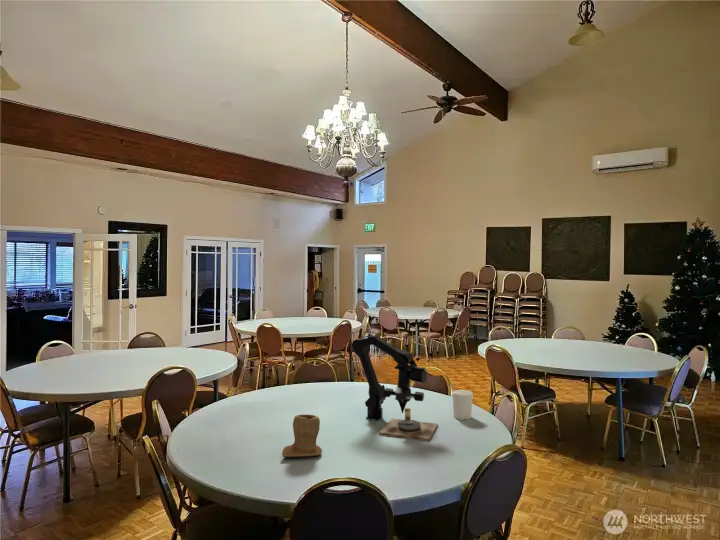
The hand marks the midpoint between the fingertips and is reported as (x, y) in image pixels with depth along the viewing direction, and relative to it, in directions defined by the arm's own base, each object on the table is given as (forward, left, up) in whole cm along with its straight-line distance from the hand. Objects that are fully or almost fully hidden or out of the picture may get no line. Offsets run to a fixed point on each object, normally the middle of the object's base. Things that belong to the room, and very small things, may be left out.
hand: (402, 412), depth 215 cm
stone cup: (-28, -47, -5) cm, 55 cm away
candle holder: (+25, +20, -5) cm, 32 cm away
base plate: (+5, -7, -5) cm, 10 cm away
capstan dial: (+4, -5, -4) cm, 8 cm away
